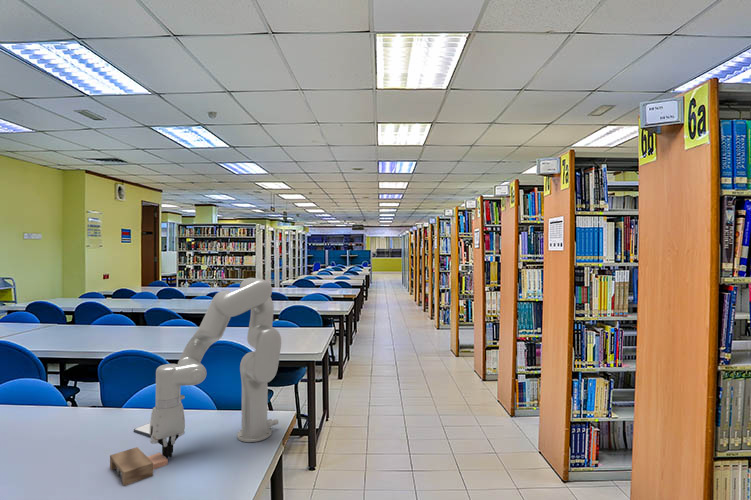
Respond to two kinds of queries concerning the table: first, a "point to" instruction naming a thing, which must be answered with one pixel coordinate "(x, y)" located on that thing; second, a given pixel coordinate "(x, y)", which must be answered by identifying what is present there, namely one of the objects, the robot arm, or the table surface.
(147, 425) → the smartphone
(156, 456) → the salmon pink flat block
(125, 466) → the wooden channel block
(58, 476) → the table surface
